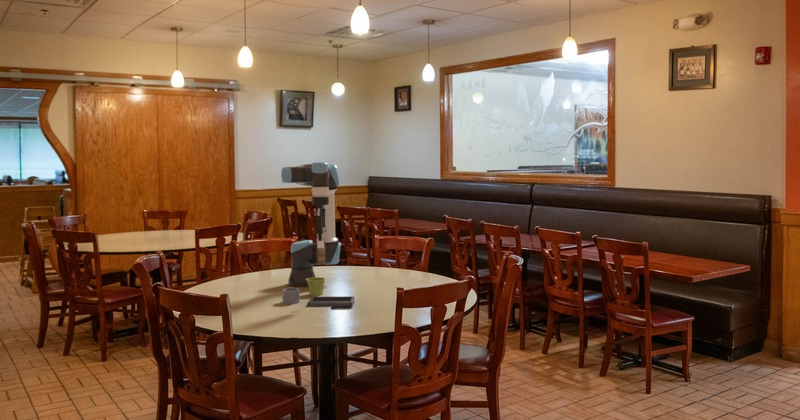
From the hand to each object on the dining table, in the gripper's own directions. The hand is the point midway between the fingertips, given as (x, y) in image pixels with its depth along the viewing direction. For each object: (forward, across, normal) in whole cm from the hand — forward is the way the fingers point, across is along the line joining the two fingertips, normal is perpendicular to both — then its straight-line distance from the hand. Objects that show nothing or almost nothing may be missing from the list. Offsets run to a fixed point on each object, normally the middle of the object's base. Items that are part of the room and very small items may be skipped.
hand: (321, 247), depth 310 cm
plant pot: (+27, -20, -6) cm, 34 cm away
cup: (+27, -2, -15) cm, 31 cm away
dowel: (+7, 0, 0) cm, 7 cm away
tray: (+27, 0, +4) cm, 27 cm away
